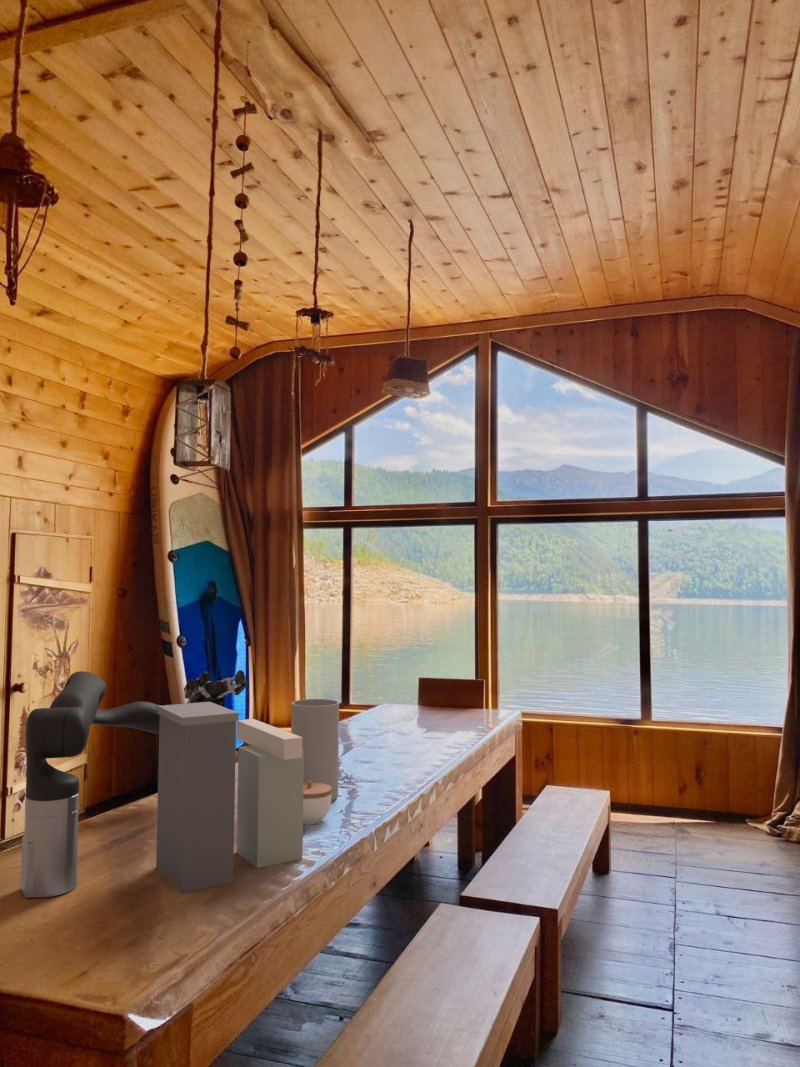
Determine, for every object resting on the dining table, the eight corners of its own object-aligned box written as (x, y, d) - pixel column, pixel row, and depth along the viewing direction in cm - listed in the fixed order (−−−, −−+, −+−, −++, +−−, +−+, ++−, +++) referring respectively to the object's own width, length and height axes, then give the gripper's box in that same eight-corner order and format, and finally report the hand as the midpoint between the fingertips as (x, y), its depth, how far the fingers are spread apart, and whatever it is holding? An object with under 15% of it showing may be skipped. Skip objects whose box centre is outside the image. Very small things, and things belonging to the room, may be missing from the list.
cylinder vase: (285, 794, 218) (287, 700, 219) (330, 790, 222) (331, 698, 224) (296, 806, 206) (297, 707, 208) (343, 802, 211) (344, 704, 212)
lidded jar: (337, 816, 198) (338, 777, 199) (321, 829, 188) (322, 788, 188) (297, 812, 201) (297, 774, 202) (279, 825, 191) (279, 784, 191)
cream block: (283, 759, 161) (284, 739, 161) (236, 738, 182) (236, 720, 182) (302, 757, 163) (302, 737, 164) (253, 736, 184) (253, 718, 184)
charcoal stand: (178, 893, 149) (182, 717, 151) (153, 867, 163) (157, 705, 164) (235, 882, 155) (238, 712, 157) (206, 857, 168) (209, 701, 170)
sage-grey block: (257, 867, 163) (259, 756, 164) (236, 852, 172) (238, 746, 173) (302, 858, 168) (303, 751, 169) (280, 843, 177) (281, 741, 179)
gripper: (173, 689, 202) (193, 661, 190) (228, 686, 209) (250, 658, 198) (178, 718, 198) (197, 691, 187) (233, 713, 206) (255, 687, 195)
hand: (224, 674), depth 193 cm, fingers open, 8 cm apart
